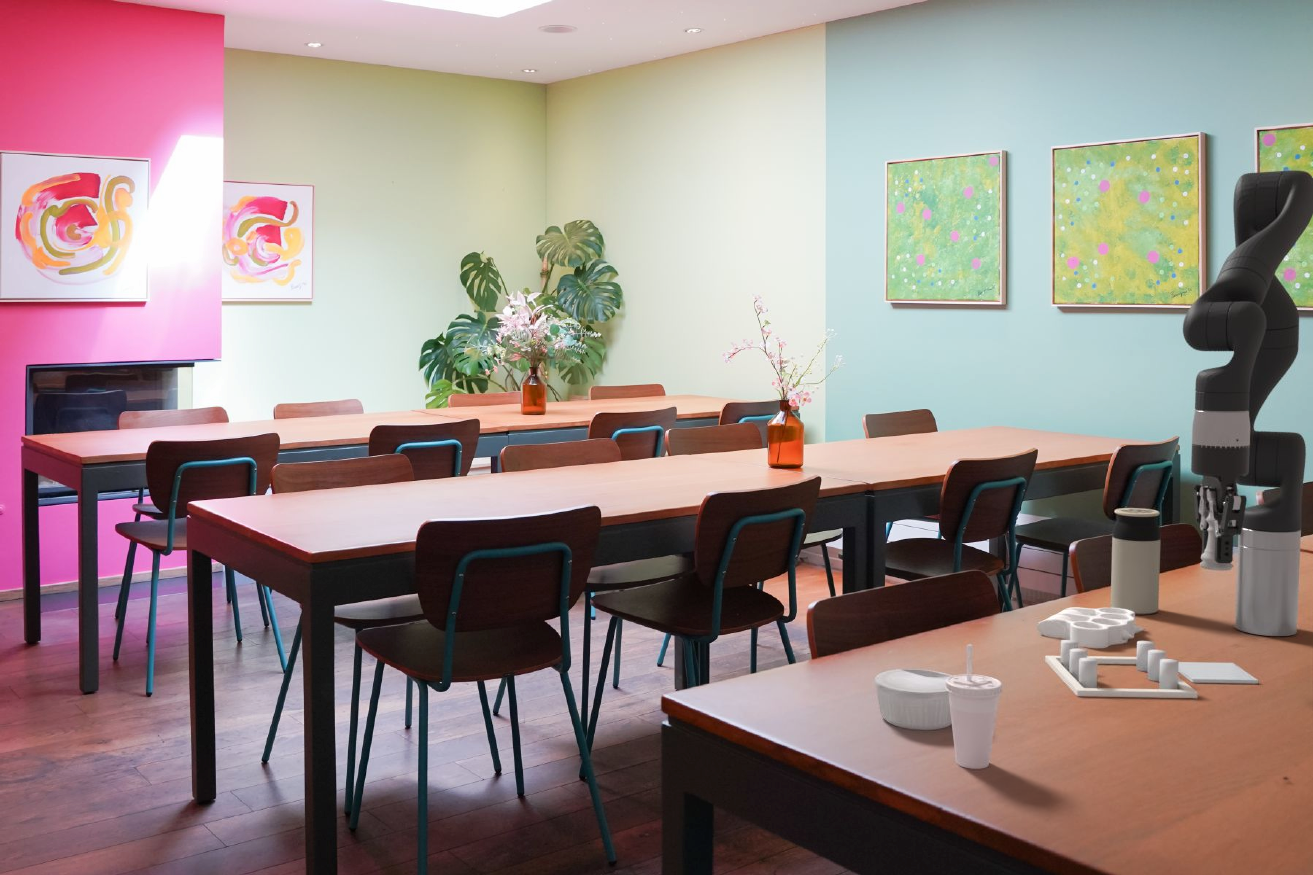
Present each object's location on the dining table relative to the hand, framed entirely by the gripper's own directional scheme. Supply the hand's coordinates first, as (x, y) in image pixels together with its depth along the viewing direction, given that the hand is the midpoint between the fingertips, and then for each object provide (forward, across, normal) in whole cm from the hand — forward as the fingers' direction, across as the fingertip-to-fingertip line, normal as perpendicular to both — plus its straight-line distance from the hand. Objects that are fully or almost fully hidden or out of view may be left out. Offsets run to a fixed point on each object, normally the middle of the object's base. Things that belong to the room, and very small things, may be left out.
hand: (1216, 558), depth 174 cm
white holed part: (+18, +23, +11) cm, 31 cm away
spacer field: (+17, -3, +15) cm, 23 cm away
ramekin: (+17, -23, +46) cm, 54 cm away
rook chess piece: (+1, 0, 0) cm, 1 cm away
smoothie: (+17, -39, +42) cm, 60 cm away
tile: (+17, 0, 0) cm, 17 cm away
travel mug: (+17, +41, -1) cm, 44 cm away
